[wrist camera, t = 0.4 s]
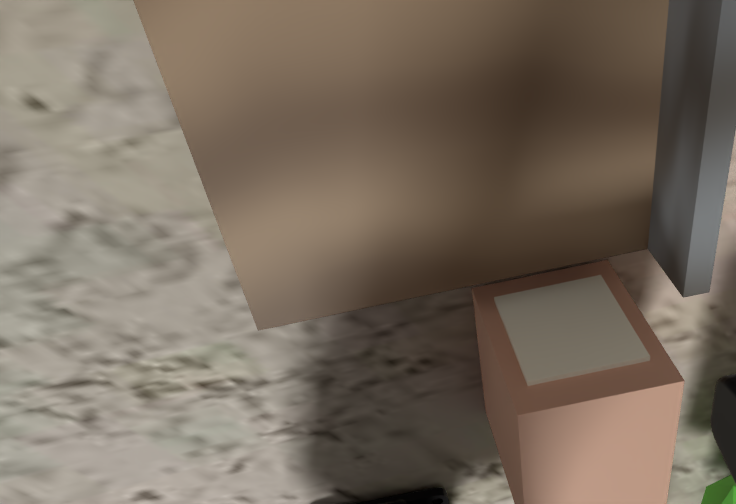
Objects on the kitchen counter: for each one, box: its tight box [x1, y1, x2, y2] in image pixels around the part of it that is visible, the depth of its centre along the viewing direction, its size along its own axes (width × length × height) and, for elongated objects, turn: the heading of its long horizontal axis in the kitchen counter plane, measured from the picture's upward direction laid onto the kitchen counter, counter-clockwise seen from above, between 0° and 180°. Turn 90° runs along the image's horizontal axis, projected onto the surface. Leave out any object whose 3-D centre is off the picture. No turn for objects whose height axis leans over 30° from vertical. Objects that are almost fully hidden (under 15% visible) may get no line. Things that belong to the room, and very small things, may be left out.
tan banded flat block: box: [133, 0, 736, 331], centre depth 19 cm, size 12×14×4 cm
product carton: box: [472, 260, 684, 504], centre depth 25 cm, size 7×5×6 cm
